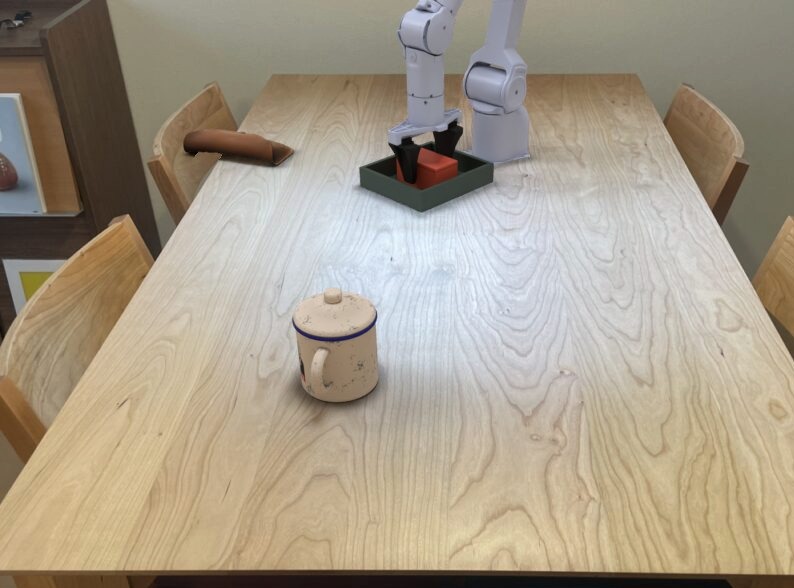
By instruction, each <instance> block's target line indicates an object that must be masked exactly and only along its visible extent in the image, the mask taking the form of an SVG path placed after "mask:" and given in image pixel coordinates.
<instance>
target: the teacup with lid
mask: <svg viewBox="0 0 794 588" xmlns="http://www.w3.org/2000/svg"><path fill="white" fill-rule="evenodd" d="M377 321H378V311H377V309H376V307H375V305H374V304H373V302H372V301H371V300H370V299H368V298H367V297H366V296H364V295H362V294H359V293H355V292H351V291H343V290H342V289H340V288H338V287H329V288H327V289H325V290H324V292H320V293H317V294H314V295H312V296H309V297H307V298H306V299H304V300H302V301H301V302H300V303H298V304H297V307H296V308H295V309H294V312H293V315H292V319H291V324H292V327H293V328H294V329H295V336H296V338H295V339H296V346H297V353H298V354H297V355H298V361H299V362H298V363H299V370H300V378H301V379H300V380H301V385H302V387H303V389H304V390H305V392H306V393H307V394H308V395H310V396H311V397H313V398H314V399H317V400H319V401H323V402H329V403H344V402H350V401H351V402H352V401H354V400H357V399H360V398H362V397H364V396H366V395H367V394H369V393H371V391H373V390H374V388H375V387H376V385H377V384H378V381H379V375H380V374H379V356H378V339H377V324H376V323H377Z"/></svg>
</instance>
